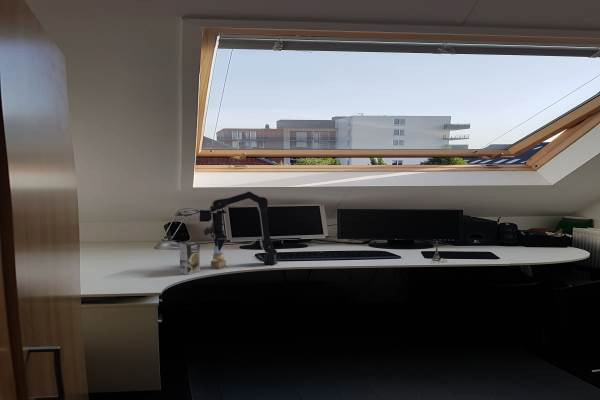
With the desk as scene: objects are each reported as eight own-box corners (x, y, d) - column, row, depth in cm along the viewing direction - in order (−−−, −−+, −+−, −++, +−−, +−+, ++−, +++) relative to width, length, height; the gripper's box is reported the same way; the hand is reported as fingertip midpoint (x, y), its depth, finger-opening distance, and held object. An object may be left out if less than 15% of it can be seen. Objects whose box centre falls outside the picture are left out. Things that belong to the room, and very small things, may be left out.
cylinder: (223, 253, 248) (223, 246, 247) (219, 254, 244) (218, 247, 243) (216, 252, 250) (216, 245, 249) (212, 254, 246) (212, 247, 245)
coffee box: (188, 274, 230) (188, 244, 229) (179, 273, 233) (179, 243, 232) (200, 271, 238) (200, 241, 237) (191, 269, 241) (191, 240, 240)
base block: (225, 267, 249) (225, 260, 248) (219, 269, 243) (219, 262, 243) (217, 265, 251) (217, 259, 251) (210, 268, 246) (210, 261, 246)
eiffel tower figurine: (431, 264, 262) (432, 242, 261) (421, 260, 271) (421, 239, 270) (452, 262, 267) (452, 240, 266) (441, 258, 276) (442, 238, 275)
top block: (223, 259, 249) (223, 252, 249) (221, 261, 244) (221, 254, 244) (215, 259, 250) (215, 252, 249) (212, 261, 245) (212, 254, 244)
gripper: (200, 219, 251) (200, 246, 252) (205, 224, 234) (206, 253, 235) (219, 219, 255) (220, 245, 257) (226, 223, 238) (226, 251, 239)
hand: (217, 248), depth 247 cm, fingers open, 9 cm apart
